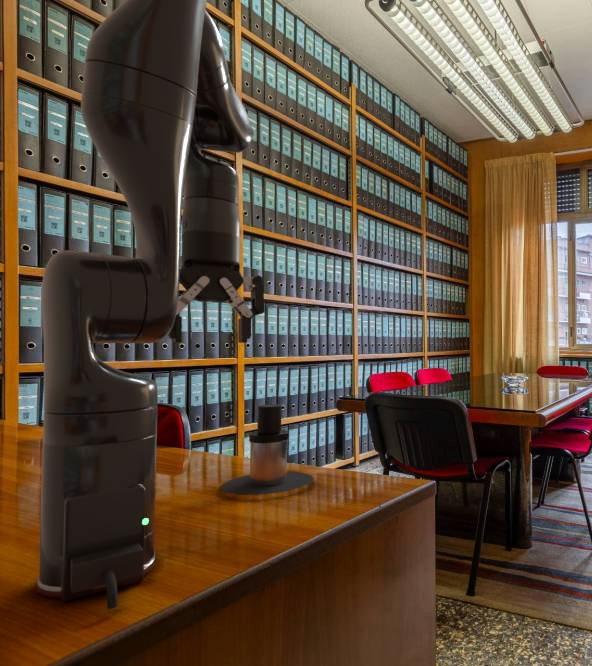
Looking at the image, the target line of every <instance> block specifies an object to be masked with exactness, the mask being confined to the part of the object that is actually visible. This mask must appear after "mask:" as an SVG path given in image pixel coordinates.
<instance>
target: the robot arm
mask: <svg viewBox="0 0 592 666" xmlns="http://www.w3.org/2000/svg"><path fill="white" fill-rule="evenodd" d="M207 2H208V0H124V1H123V2H122V3H120V5H119V6H117V7H116V8H115V9H114V10H113V11H112V12H111V13H110V14H109V15H108V16H107V17H106V18H105V19H104V20H103V21H102V22H101V23H100V24H99V26H98V27H97V28H96V29H95V31H94V32H93V34H92V35H91V37H90V39H89V41H88V44H87V47H86V52H85V57H84V58H85V59H84V65H83V66H84V68H83V76H82V77H83V78H82V86H81V88H82V89H81V99H80V100H81V101H80V111H81V116H82V120H83V123H84V126H85V128H86V130H87V133H88V135H89V137H90V139H91V141H92V143H93V145H94V147H95V148H96V150H97V152H98V154H99V156H100V157H101V159H102V161H103V163H104V164H105V166H106V168H107V170H108V171H109V173H110V174H111V176H112V177H113V179H114V181H115V182H116V185H117V186H118V188H119V190H120V192H121V194H122V195H123V196H122V197H123V198H124V200H125V202H126V205H127V207H128V209H129V212H130V215H131V218H132V223H133V227H134V235H135V249H136V250H135V257H130V256H122V255H116V254H115V255H114V254H106V253H97V252H89V251H81V250H67V249H65V250H60V251H58V252H55V253H54V254H53V255H52V256H51V257H50V258H49V260H48V262H47V263H46V265H45V268H44V271H43V276H42V281H41V282H42V283H41V315H42V317H41V318H42V333H43V420H42V422H43V423H42V424H43V425H42V450H41V451H42V452H41V483H40V485H41V486H40V488H41V490H40V519H39V521H40V523H39V527H40V528H39V567H38V568H39V571H38V577H37V584H36V585H37V586H36V587H37V588H36V590H37V593H38V594H40V595H42V596H43V597H49V598H60V599H61V601H62V602H69V601H72V600H76V599H80V598H83V597H87V596H90V595H94V594H95V595H96V594H98V593H103V592H106V610H111V609H115V608H118V605H119V604H118V602H119V601H118V600H119V599H118V598H119V597H118V595H119V594H118V588H121V587H125V586H128V585H133V584H136V583H139V582H142V581H144V580H145V575H147V574H148V573H150V572H151V571H152V570H153V568H154V567H155V565H156V552H155V535H156V534H155V532H156V531H155V530H156V527H155V526H156V525H155V522H156V518H155V517H156V484H157V440H158V439H157V438H158V437H157V436H158V408H159V407H158V404H159V402H158V401H159V389H158V385H157V382H156V381H155V380H153V379H152V378H149V377H147V376H141V375H138V374H134V373H131V372H126V371H123V370H120V369H118V368H115V367H113V366H111V365H109V364H107V363H106V362H104V361H103V360H101V359H100V358H99V357H98V355H97V354H96V351H95V348H94V344H151V343H152V344H153V343H158V342H161V341H163V340H165V339H167V337H168V339H169V340H172V343H173V344H181V343H182V340H183V339H182V338H183V336H182V334H183V330H182V329H183V317H182V315H181V316H180V314H181V312H182V311H183V310H184V309H185V308H187V306H188V305H189V304H190V303H191V302H192V301H193V300H195V301H197V302H198V303H199V302H200V303H206V302H213V303H216V304H217V303H218V304H219V303H220V304H221V303H225V302H226V303H227V304H228V305H229V306H230V308H232V309H233V310H234V311H235V312H236V314H237V315H238V316H239V318H238V320H237V341H238V343H239V344H245V343H247V342H248V340H250V339H251V337H252V319H253V318H254V317H256V316H259V315H263V314H264V313H265V312H266V311H265V310H266V309H265V293H264V292H265V291H264V280H263V277H262V276H261V275H256V276H243V275H242V272H241V235H242V229H241V219H240V218H241V217H240V212H239V209H240V208H239V190H240V189H239V175H238V172H237V171H236V169H234V168H233V167H231V165H227V164H225V163H223V162H219V161H216V160H213V159H210V158H208V157H205V156H204V155H202V150H205V151H214V152H225V153H232V154H236V153H238V154H239V153H243V152H245V151H246V150H247V149H248V148H249V147H250V146H251V144H252V141H253V136H254V135H253V127H252V122H251V119H250V117H249V115H248V112H247V111H246V108H245V107H244V105H243V103H242V102H241V100H240V98H239V96H238V94H237V93H236V90H235V88H234V85H233V83H232V81H231V77H230V72H229V67H228V61H227V57H226V50H225V46H224V43H223V39H222V35H221V34H220V32H219V30H218V27H217V25H216V23H215V22H214V20H213V18H212V17H211V15H210V14H209V12H208V11H207V9H206V8H207ZM183 199H184V201H183ZM180 284H181V286H182V287H183V288H184V289H185V290H184V291H183V293H182V294H181V295H180V294H179V293H180ZM242 285H245V288H246V289H247V290H248V291H249V292H250V304H251V308H249V306H248V305H247V304H246V301H245V300H244V299H243V297H242V296H241V295H240V293H239V292H238V290H240V288H241V287H242ZM179 295H180V296H179Z"/></svg>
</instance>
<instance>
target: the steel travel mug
mask: <svg viewBox="0 0 592 666" xmlns="http://www.w3.org/2000/svg"><path fill="white" fill-rule="evenodd" d="M248 438H249V439H248V442H249V443H250V444H249V445H250V447H249V475H250V485H252V486H260V487H261V486H273V485H278V484H281V483H284V482H286V480H287V471H288V440H289V438H290V432H289V430H287V429H282V404H274V403H273V404H269V403H268V404H261V405H257V429H256V430H255V431H252V432H250V433H249V435H248Z"/></svg>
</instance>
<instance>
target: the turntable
mask: <svg viewBox="0 0 592 666" xmlns="http://www.w3.org/2000/svg"><path fill="white" fill-rule="evenodd" d="M313 480H314V477H313V475H311V474H309V473H306V472H301V471H293V470H291V471H288V470H287V480H286V482H284V483H281V484H278V485H273V486H261V487H260V486H252V485H250V474H247V475H243V476H238V477H235V478H232V479H230V480H227V481H226V482H223V483H222V484H221V485H220V490H221V491H222V492H224V493H226V494H232V495H239V496H240V495H244V496H254V495H255V496H256V495H257V496H259V495H269V494H276V493H277V494H278V493H282V492H288V491H292V490H296V489H299V488H302V487H304V486H307V485H309V484H310V483H312V482H313Z"/></svg>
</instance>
